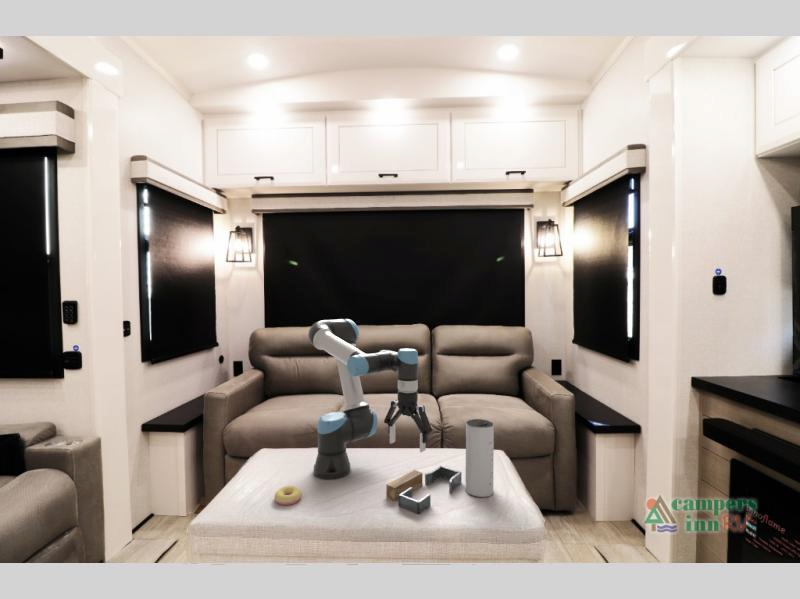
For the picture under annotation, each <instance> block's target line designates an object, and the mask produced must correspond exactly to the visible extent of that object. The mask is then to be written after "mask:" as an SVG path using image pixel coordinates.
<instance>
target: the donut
mask: <svg viewBox="0 0 800 599" xmlns="http://www.w3.org/2000/svg"><path fill="white" fill-rule="evenodd" d="M302 494H303V493H302V490H301V489H300V487H297V486H294V485H286V486H282V487H280V488H278V489H277V490H276V492H275V493H274V500H275V502H276V503H277V504H278V505H281V506H290V505H294V504H296V503H297V502H299V501H300V500H301V498H302Z"/></svg>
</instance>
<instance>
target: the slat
mask: <svg viewBox="0 0 800 599" xmlns="http://www.w3.org/2000/svg"><path fill="white" fill-rule="evenodd" d="M421 486H423V472H421V471H418V470H416V469H413V470H412V471H409V472H407V473H406V474H404V475H402V476H400V477H398V478H396V479H393V480H392V481H390V482H388V483H387V484H386V487H385V489H386V492H385V493H386V496H385V497H386V498H387V499H389V500H390V501H391V500H392V501H393V502H396V501H398V500H399V494H401V493H402V492H404V491H405V490H407V489H408V488H410V487H412V492H413V491H415V490H416V489H418V488H420V487H421Z"/></svg>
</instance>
